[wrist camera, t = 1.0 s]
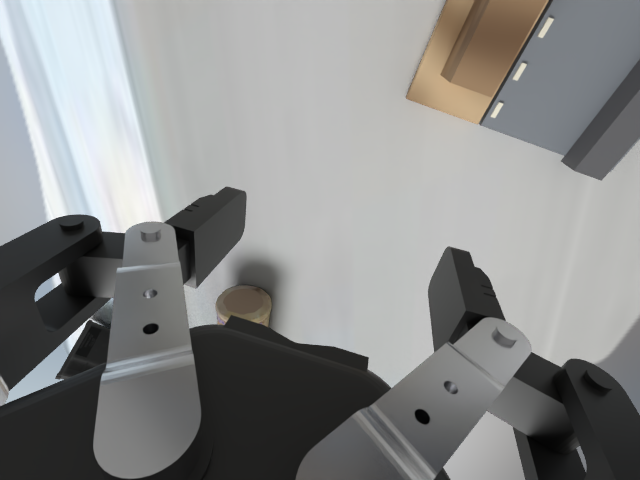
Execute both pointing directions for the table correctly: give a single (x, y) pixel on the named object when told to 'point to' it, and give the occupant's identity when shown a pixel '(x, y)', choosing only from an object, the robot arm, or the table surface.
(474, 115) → the stub
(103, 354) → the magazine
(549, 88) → the board
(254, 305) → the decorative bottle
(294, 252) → the table surface
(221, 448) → the robot arm
